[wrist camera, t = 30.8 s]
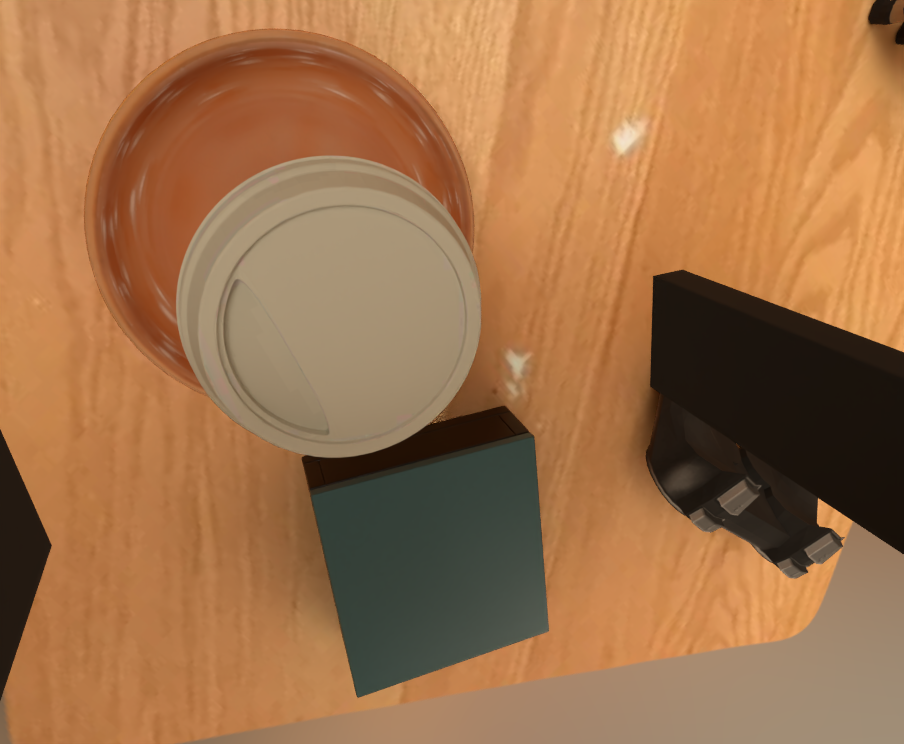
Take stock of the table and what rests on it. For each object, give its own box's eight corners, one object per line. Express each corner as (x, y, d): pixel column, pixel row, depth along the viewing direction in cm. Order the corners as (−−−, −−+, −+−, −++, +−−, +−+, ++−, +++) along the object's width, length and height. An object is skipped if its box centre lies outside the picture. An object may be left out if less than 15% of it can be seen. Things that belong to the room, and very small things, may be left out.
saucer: (459, 364, 36) (479, 386, 33) (140, 414, 32) (133, 443, 29) (450, 32, 30) (473, 27, 27) (49, 36, 25) (30, 29, 23)
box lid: (545, 624, 40) (549, 631, 39) (355, 690, 37) (357, 698, 36) (530, 431, 35) (534, 436, 34) (309, 489, 32) (310, 496, 32)
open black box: (518, 577, 43) (540, 612, 40) (341, 634, 40) (351, 676, 37) (505, 405, 38) (529, 431, 35) (301, 456, 35) (309, 489, 32)
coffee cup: (192, 117, 25) (176, 135, 15) (410, 152, 28) (528, 188, 18) (185, 333, 28) (168, 479, 17) (384, 343, 31) (472, 474, 20)
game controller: (596, 388, 43) (628, 524, 36) (683, 325, 39) (739, 462, 32) (742, 479, 50) (792, 607, 43) (826, 434, 46) (897, 565, 39)
